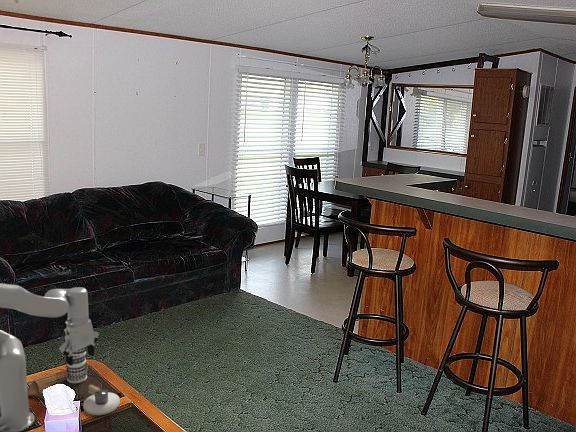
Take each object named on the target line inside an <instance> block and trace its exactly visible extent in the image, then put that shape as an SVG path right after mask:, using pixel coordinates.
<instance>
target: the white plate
mask: <svg viewBox="0 0 576 432" xmlns="http://www.w3.org/2000/svg"><path fill="white" fill-rule="evenodd" d="M119 404H121V401H120V396H119V395H118V394H116V393H114V392H109V391H108V402H107V403H106V404H103V405H97V404H96V403H95V396H94V395H92V394H91V395H90V396H88V397H87V398H86V399H85V400H84V401H83V411H84V412H85V413H86V414H88V415H91V416H103V415H108V414H110V413H112V412H115V411H116V410H117V409H118V408H119V407H120V405H119ZM118 406H119V407H118ZM117 407H118V408H117Z"/></svg>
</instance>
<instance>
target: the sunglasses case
mask: <svg viewBox="0 0 576 432" xmlns="http://www.w3.org/2000/svg"><path fill="white" fill-rule="evenodd" d="M53 385H54V384H51V383H46V382H39V381H36V380H33V381H32V382H31V384H30V385H29V387H27V388H28V398H30V397H34V398H33V399H35V398H39V399H38V400H40V399H42V400H41V401H45V400H44V399H43V394H42V391H43V389H45V388H48V387H50V386H53Z"/></svg>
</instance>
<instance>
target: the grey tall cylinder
mask: <svg viewBox="0 0 576 432" xmlns="http://www.w3.org/2000/svg"><path fill="white" fill-rule="evenodd" d="M63 332H64V335H65V336H64V339H63V343H64V342H65V341H66V327H65V328H64V329H63ZM66 349H67V348H65V351H66ZM69 351H70V350H69ZM68 353H69V352H68ZM86 354H87V346H86V347H84V348H82V349H80V350H77V351H73V353H72V355H71V356H72V357H73V365H72V366H71V365H69V364H67V363H66V364H65V365H66V366H65V367H66V370H65V371H66V380H67V382H68V383H70V384H79V383H83V382H85V381H86V380H87V379H88V369H87V367H88V366H87V364H88V362H87V359H86ZM64 356H65V357H66V355H64Z"/></svg>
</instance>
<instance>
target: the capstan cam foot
mask: <svg viewBox="0 0 576 432" xmlns="http://www.w3.org/2000/svg"><path fill="white" fill-rule="evenodd" d="M87 387H88V389H87V390H88V394H91V396H92V395H94V396H95V403H96V404H97V405H103V404H106V403H107V402H108V392H109V391H108V390H107V389H101V388H100V387H98V386H96V385H94V384H89V385H88V386H87Z"/></svg>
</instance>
